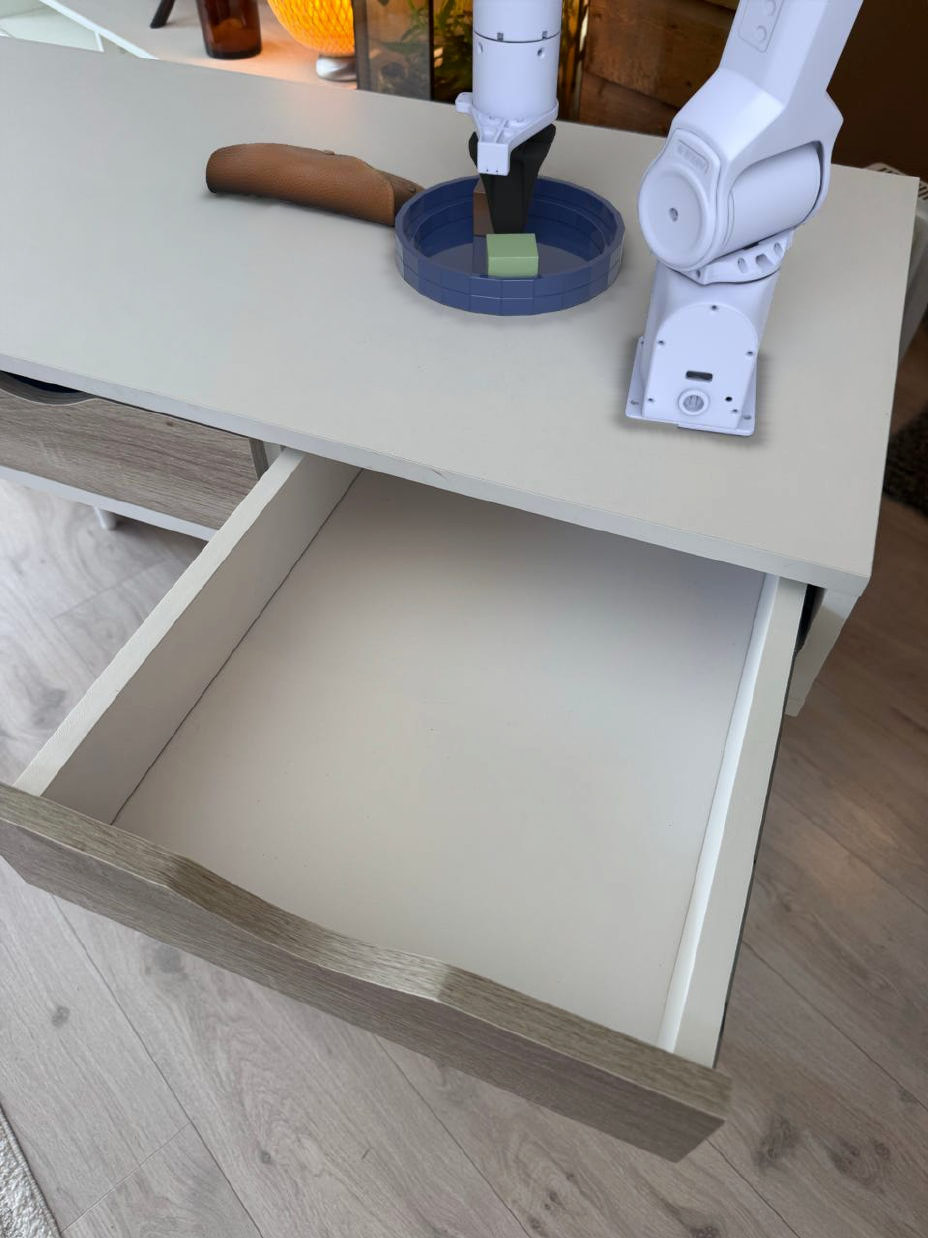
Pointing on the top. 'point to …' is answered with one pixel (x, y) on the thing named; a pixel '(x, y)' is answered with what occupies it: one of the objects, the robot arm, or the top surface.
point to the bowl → (559, 217)
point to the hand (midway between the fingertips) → (509, 232)
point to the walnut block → (481, 211)
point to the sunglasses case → (309, 179)
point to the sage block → (511, 255)
